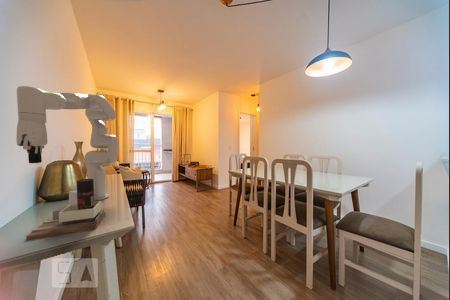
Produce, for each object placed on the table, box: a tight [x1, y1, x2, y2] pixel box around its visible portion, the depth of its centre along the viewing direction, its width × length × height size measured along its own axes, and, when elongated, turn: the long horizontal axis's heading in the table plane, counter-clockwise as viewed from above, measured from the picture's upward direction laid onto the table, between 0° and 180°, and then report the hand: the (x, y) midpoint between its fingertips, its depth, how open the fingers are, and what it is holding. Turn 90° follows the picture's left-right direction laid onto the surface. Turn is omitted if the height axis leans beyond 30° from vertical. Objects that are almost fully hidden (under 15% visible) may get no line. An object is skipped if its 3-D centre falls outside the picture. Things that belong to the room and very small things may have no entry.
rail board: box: [25, 209, 106, 241], centre depth 75 cm, size 14×22×4 cm, turn 112°
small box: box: [68, 189, 77, 206], centre depth 93 cm, size 8×6×10 cm
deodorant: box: [76, 178, 95, 210], centre depth 76 cm, size 6×6×15 cm
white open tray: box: [52, 200, 102, 225], centre depth 75 cm, size 10×15×6 cm, turn 112°
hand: (35, 162), depth 69 cm, fingers closed
